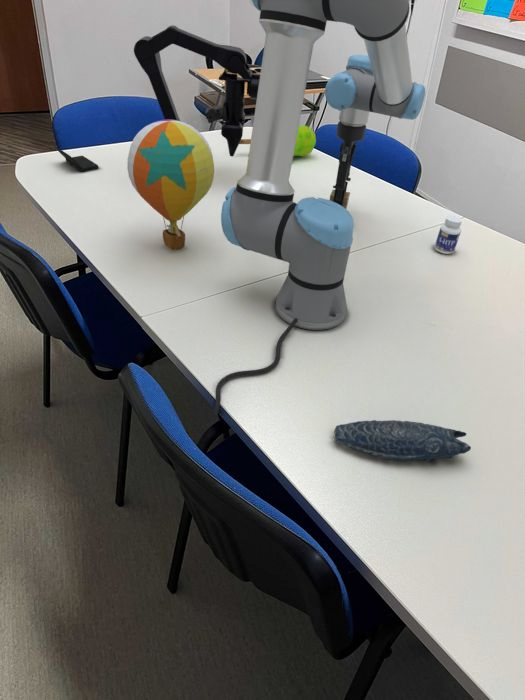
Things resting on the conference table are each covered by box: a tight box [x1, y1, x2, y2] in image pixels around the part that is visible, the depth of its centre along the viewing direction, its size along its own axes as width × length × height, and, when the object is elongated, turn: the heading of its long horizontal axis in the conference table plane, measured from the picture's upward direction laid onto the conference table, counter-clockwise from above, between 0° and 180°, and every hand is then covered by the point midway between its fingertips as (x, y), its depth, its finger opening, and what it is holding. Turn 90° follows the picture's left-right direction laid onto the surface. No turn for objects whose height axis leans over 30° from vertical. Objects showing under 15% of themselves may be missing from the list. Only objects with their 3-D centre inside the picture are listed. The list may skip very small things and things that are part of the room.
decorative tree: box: [239, 125, 317, 157], centre depth 187 cm, size 18×10×30 cm
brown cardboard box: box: [329, 189, 351, 210], centre depth 150 cm, size 5×5×4 cm
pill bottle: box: [434, 215, 463, 255], centre depth 137 cm, size 5×5×9 cm
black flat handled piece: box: [53, 145, 99, 172], centre depth 166 cm, size 12×7×10 cm
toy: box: [126, 119, 215, 251], centre depth 121 cm, size 20×20×30 cm
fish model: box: [333, 419, 472, 462], centre depth 82 cm, size 7×21×5 cm, turn 84°
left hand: (232, 151), depth 163 cm, fingers open, 9 cm apart
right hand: (338, 206), depth 151 cm, fingers closed on brown cardboard box, 5 cm apart
